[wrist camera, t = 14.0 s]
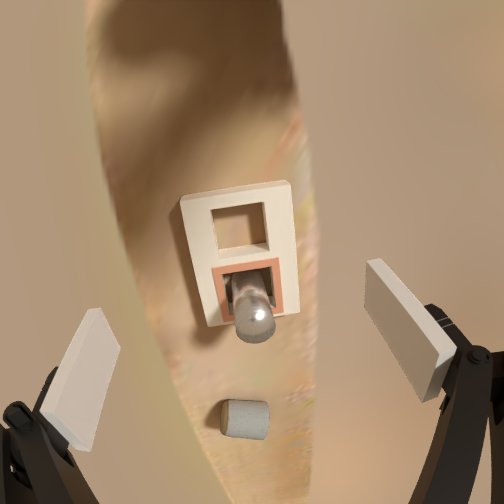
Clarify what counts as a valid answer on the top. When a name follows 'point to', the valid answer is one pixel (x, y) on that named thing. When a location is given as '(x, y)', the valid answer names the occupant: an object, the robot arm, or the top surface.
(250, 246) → the pin board
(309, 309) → the top surface
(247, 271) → the pin
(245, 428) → the ceramic mug
